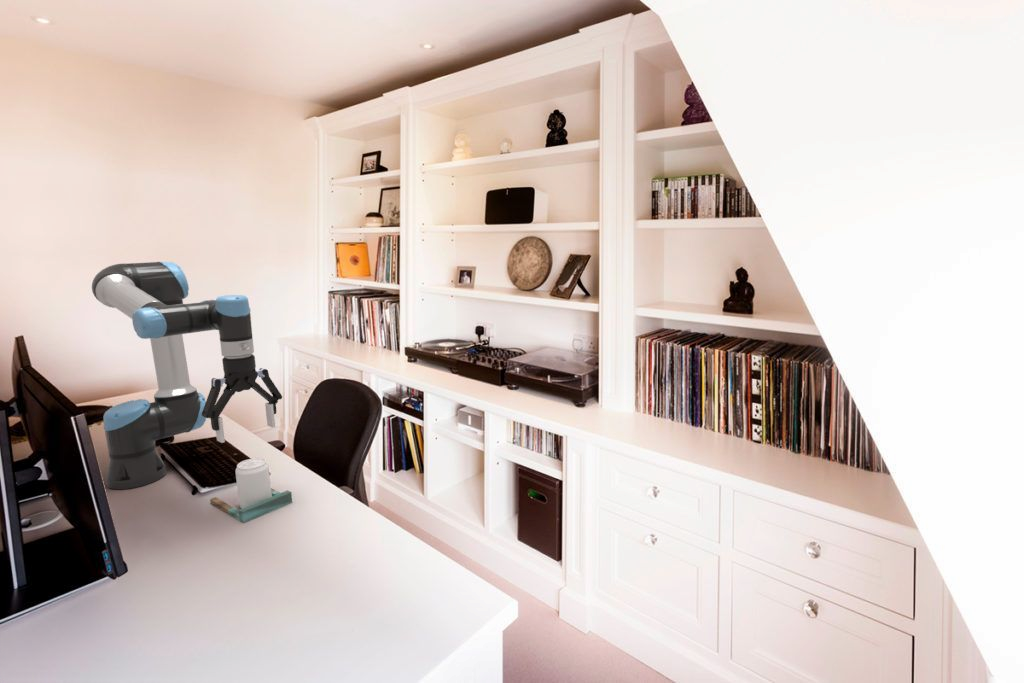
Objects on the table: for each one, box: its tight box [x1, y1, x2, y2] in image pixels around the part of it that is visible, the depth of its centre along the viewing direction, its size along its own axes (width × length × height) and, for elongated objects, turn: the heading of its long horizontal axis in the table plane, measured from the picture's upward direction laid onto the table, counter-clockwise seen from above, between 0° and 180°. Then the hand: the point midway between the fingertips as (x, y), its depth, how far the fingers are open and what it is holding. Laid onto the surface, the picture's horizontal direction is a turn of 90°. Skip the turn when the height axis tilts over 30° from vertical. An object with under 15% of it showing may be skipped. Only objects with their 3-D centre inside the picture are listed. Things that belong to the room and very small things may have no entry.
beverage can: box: [235, 457, 272, 509], centre depth 147 cm, size 8×8×12 cm
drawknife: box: [210, 487, 293, 524], centre depth 149 cm, size 18×14×3 cm
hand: (247, 433), depth 144 cm, fingers open, 13 cm apart
